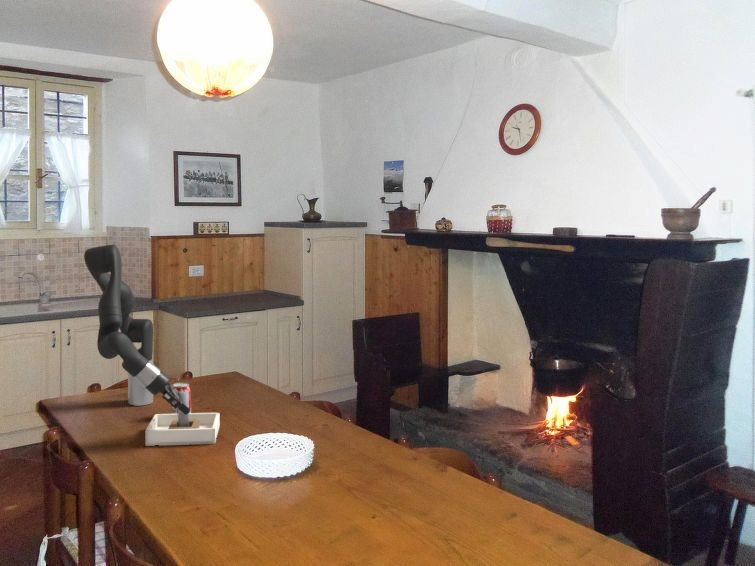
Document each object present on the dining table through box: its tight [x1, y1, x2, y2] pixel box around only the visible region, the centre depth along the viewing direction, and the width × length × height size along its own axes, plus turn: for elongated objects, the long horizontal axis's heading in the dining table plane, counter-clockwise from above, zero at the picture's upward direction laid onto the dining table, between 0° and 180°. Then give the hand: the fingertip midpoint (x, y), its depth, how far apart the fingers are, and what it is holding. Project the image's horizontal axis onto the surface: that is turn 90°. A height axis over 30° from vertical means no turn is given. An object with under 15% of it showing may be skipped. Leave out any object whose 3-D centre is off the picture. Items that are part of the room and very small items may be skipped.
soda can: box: [170, 382, 192, 414], centre depth 255 cm, size 7×7×12 cm
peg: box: [177, 391, 189, 427], centre depth 233 cm, size 4×4×14 cm
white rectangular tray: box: [144, 412, 221, 447], centre depth 234 cm, size 18×22×5 cm
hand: (187, 408), depth 234 cm, fingers open, 8 cm apart
